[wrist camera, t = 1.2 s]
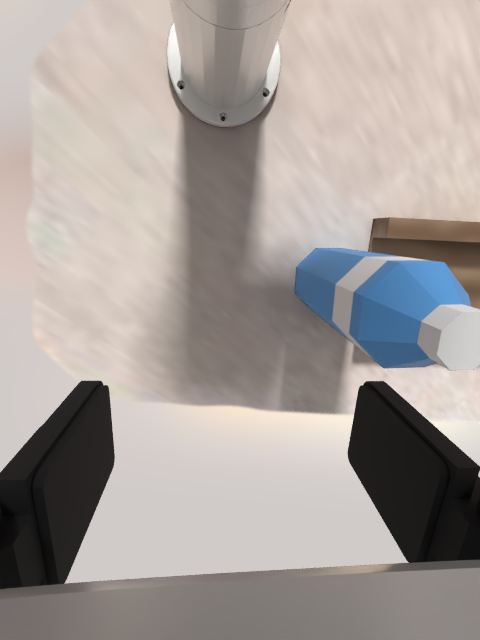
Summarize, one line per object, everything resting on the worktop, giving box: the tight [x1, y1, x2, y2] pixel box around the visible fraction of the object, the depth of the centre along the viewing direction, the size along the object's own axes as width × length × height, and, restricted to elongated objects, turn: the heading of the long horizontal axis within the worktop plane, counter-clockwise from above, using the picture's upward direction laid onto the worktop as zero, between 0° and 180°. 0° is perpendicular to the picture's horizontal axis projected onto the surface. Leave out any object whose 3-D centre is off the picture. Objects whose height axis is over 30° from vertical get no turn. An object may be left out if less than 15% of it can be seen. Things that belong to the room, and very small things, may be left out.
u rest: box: [368, 218, 480, 309], centre depth 43 cm, size 17×24×4 cm
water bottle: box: [295, 248, 480, 371], centre depth 31 cm, size 9×9×25 cm
